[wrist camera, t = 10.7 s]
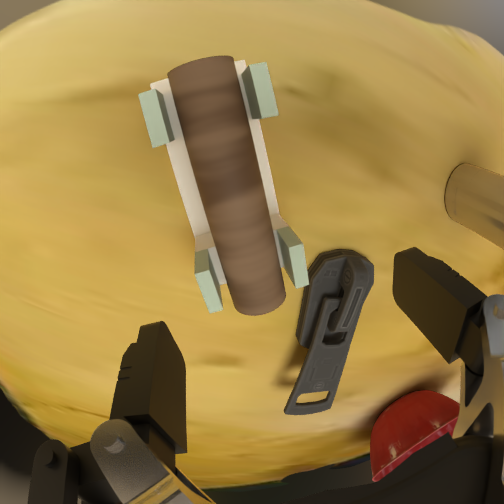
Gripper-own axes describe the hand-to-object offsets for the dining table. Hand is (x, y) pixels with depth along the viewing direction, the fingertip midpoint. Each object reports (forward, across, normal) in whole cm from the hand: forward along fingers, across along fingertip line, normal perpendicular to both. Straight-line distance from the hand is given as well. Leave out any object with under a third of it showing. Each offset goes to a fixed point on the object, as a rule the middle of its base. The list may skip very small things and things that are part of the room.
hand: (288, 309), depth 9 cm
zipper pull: (+22, -7, +23) cm, 33 cm away
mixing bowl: (+22, -28, +63) cm, 73 cm away
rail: (+16, 0, -1) cm, 17 cm away
